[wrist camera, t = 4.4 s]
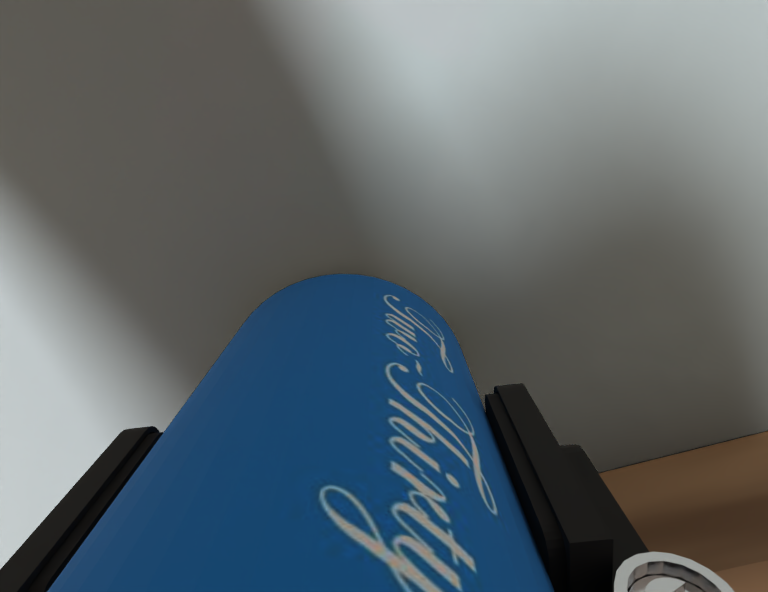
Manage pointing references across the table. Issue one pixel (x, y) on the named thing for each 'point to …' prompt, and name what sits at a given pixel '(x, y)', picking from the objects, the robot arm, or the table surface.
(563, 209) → the table surface
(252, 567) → the beverage can
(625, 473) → the walnut block
